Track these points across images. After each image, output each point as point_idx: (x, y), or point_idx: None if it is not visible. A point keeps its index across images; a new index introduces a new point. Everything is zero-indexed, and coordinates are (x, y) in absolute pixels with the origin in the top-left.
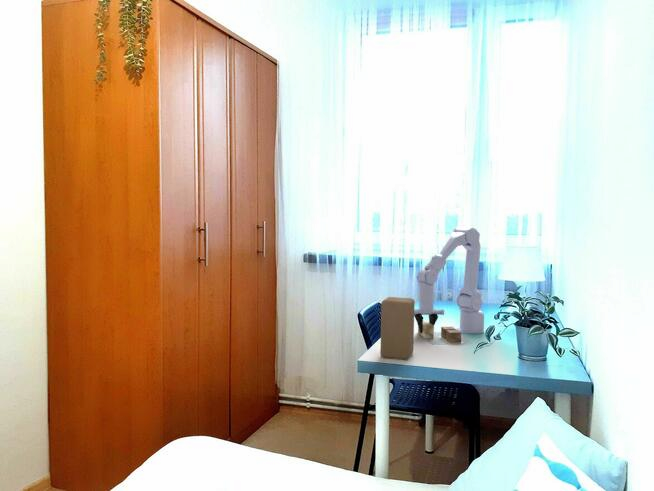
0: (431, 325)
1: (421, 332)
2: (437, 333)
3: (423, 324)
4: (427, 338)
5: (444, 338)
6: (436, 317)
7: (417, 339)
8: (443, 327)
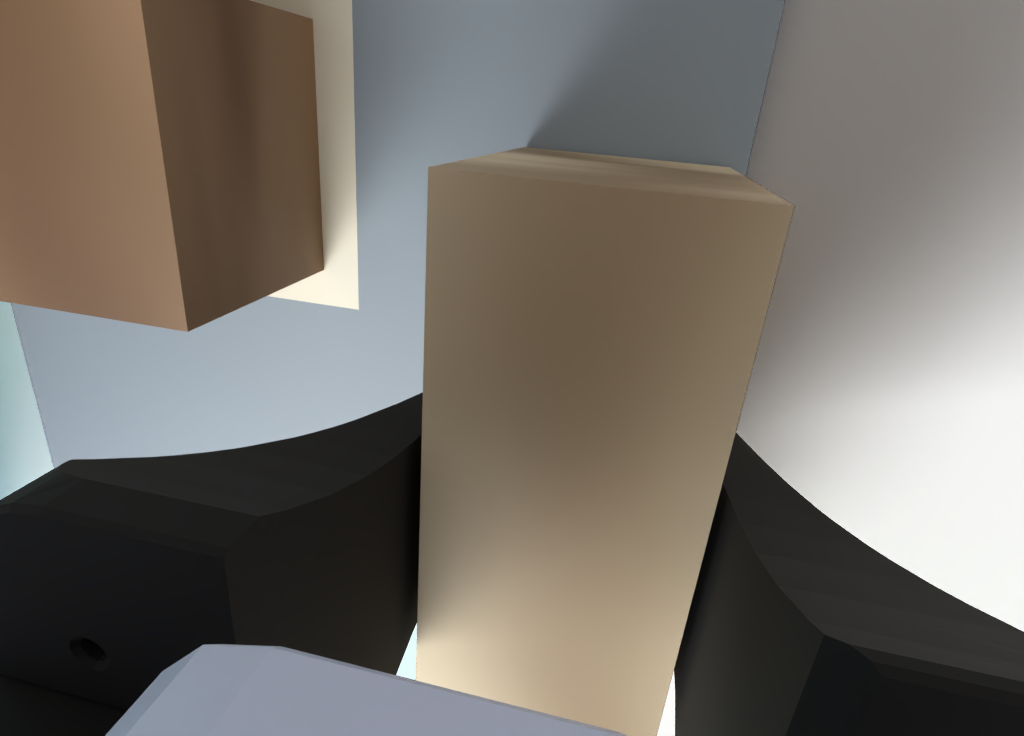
0: (503, 232)
1: None
2: None
3: (727, 452)
4: (668, 160)
5: (306, 40)
6: (86, 477)
7: (919, 185)
8: (146, 237)
